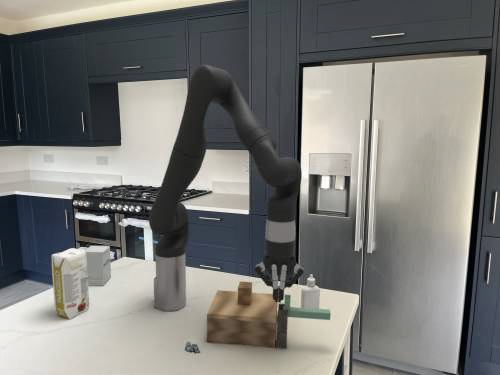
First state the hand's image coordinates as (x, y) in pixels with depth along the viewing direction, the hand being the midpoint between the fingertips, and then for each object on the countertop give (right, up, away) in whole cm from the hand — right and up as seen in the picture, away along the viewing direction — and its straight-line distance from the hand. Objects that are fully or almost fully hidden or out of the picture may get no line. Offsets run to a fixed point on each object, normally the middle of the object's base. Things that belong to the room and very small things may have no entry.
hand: (278, 301), depth 95 cm
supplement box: (-63, -5, +39) cm, 74 cm away
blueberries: (-22, -13, 0) cm, 25 cm away
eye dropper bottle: (+11, -9, +20) cm, 25 cm away
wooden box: (-8, -11, +8) cm, 15 cm away
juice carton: (-61, -9, +17) cm, 64 cm away
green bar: (+7, -4, 0) cm, 8 cm away
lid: (-9, -4, +7) cm, 12 cm away
